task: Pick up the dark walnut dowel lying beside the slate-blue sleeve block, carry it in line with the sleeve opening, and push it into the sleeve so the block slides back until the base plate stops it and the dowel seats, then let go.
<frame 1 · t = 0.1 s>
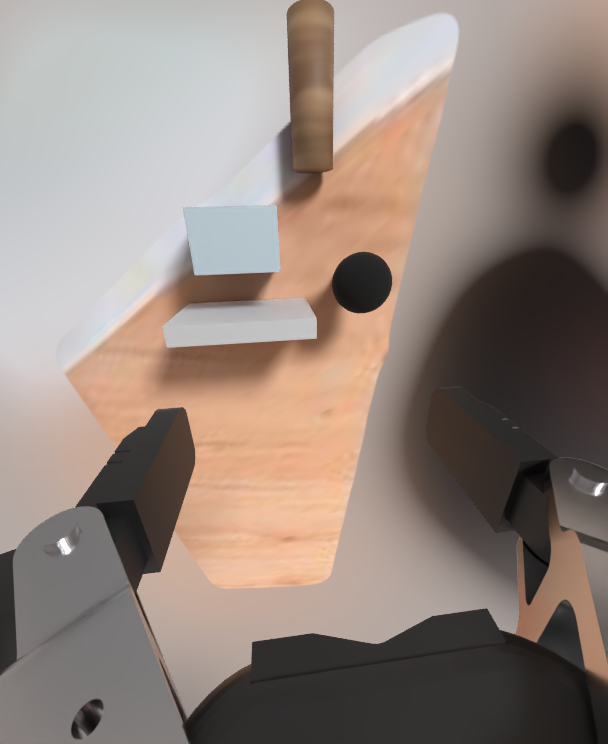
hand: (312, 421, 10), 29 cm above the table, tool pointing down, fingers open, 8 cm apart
base plate: (247, 300, 36), on the table
dowel: (309, 106, 30), on the table
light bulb: (345, 274, 37), on the table
sleeve block: (238, 240, 30), point 4 cm above the table, slide at 0.0 cm
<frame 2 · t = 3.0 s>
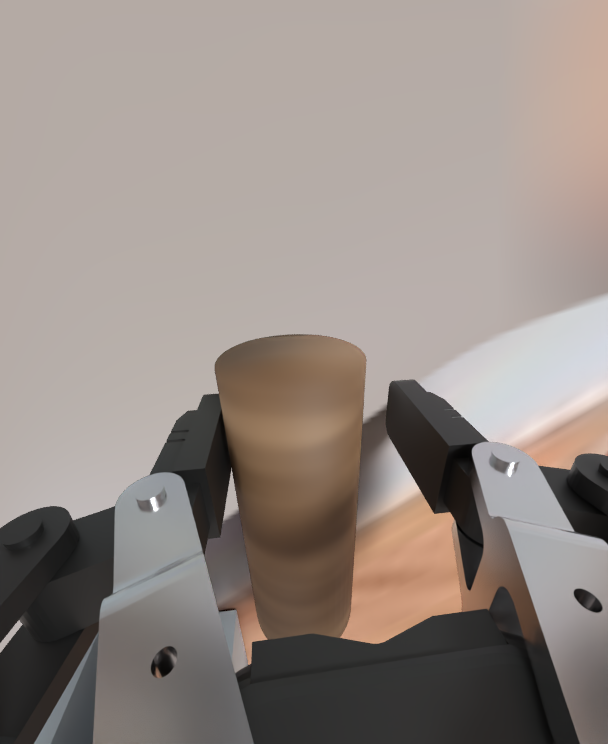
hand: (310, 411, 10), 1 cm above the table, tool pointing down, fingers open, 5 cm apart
dowel: (314, 464, 12), on the table, tilted 24°
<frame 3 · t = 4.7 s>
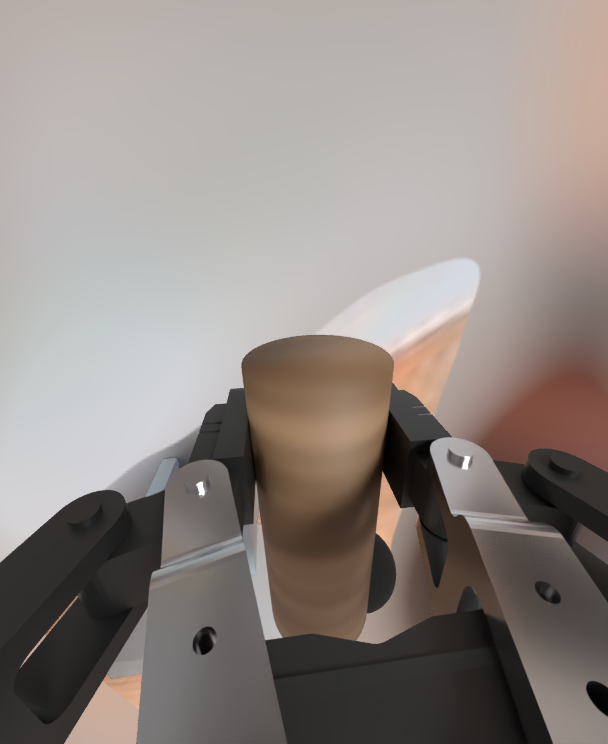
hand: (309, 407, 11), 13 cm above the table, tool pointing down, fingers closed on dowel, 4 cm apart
base plate: (223, 527, 31), on the table
dowel: (310, 464, 12), point 13 cm above the table, touching gripper
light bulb: (339, 496, 31), on the table
sleeve block: (205, 512, 24), point 4 cm above the table, slide at 0.0 cm
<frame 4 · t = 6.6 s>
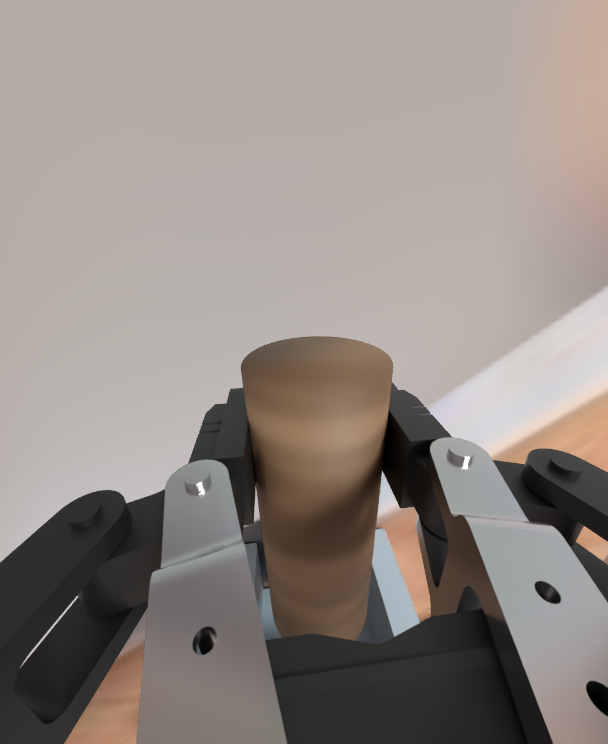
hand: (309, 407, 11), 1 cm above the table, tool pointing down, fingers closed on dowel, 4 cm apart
dowel: (310, 465, 12), point 1 cm above the table, touching gripper
sleeve block: (321, 655, 13), point 4 cm above the table, slide at 0.0 cm
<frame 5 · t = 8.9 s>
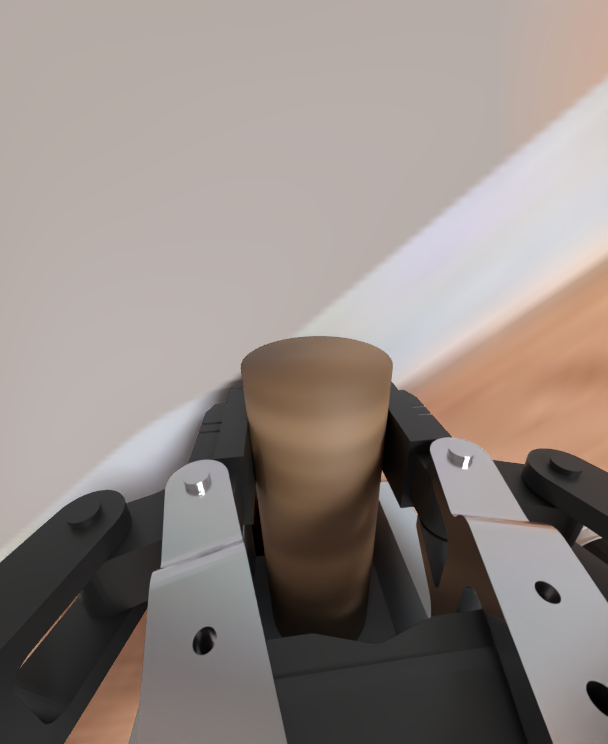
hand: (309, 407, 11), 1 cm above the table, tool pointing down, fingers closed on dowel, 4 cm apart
dowel: (310, 465, 12), resting in sleeve block, touching gripper
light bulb: (540, 503, 16), on the table
sleeve block: (325, 625, 11), point 4 cm above the table, slide at 4.0 cm, touching base plate, dowel
when the fingers open (1 cm above the table, at t = 10.0 s): dowel stays where it is, resting in sleeve block.
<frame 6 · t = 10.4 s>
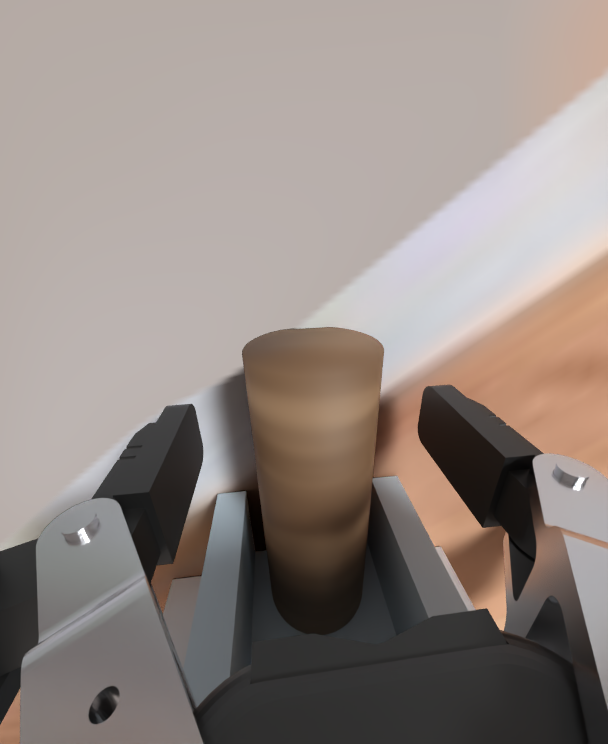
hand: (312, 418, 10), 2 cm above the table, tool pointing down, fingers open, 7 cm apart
base plate: (311, 562, 16), on the table
dowel: (309, 452, 13), resting in sleeve block
sleeve block: (323, 619, 11), point 4 cm above the table, slide at 4.0 cm, touching base plate
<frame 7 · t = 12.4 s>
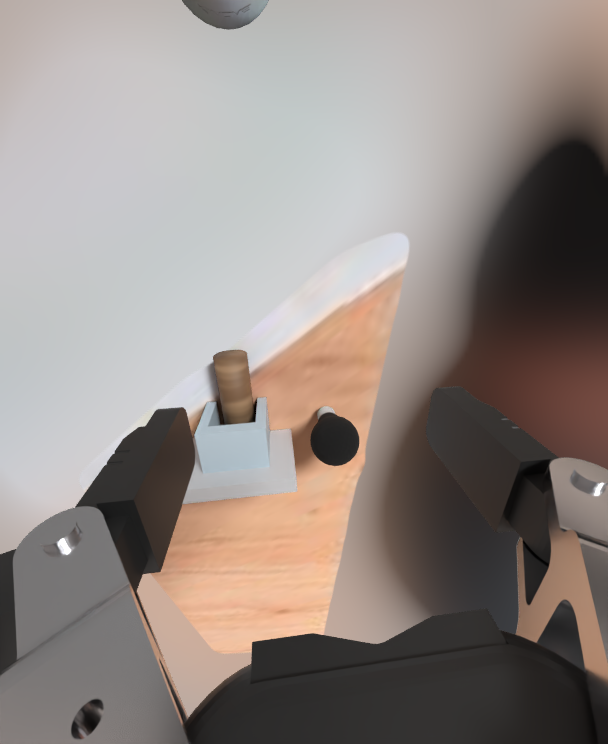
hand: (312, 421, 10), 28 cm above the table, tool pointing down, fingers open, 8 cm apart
base plate: (242, 433, 43), on the table
dowel: (236, 388, 40), resting in sleeve block, tilted 6°
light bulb: (324, 409, 43), on the table
sleeve block: (236, 432, 38), point 4 cm above the table, slide at 4.0 cm, touching base plate
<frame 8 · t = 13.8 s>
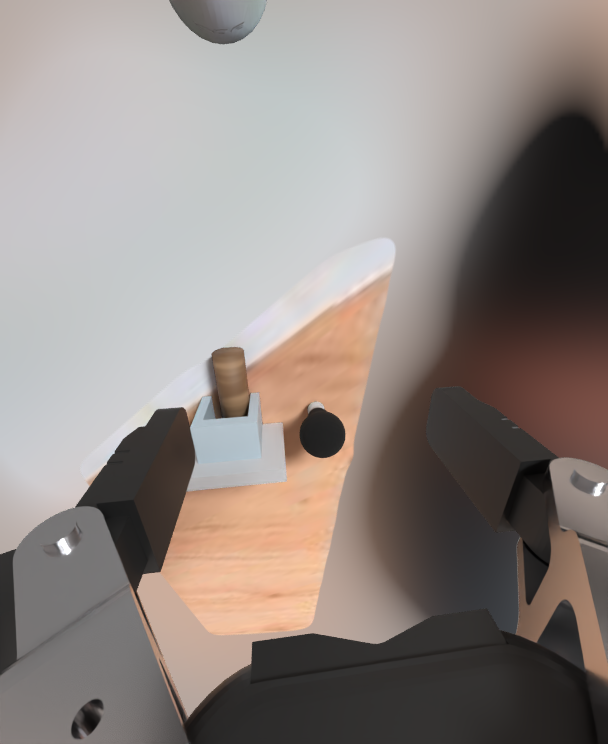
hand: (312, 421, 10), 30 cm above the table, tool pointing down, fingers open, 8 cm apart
base plate: (236, 426, 45), on the table
dowel: (230, 384, 42), resting in sleeve block, tilted 19°
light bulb: (314, 404, 45), on the table
sleeve block: (230, 425, 40), point 4 cm above the table, slide at 4.0 cm
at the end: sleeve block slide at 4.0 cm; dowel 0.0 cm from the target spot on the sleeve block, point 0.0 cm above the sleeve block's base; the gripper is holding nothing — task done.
